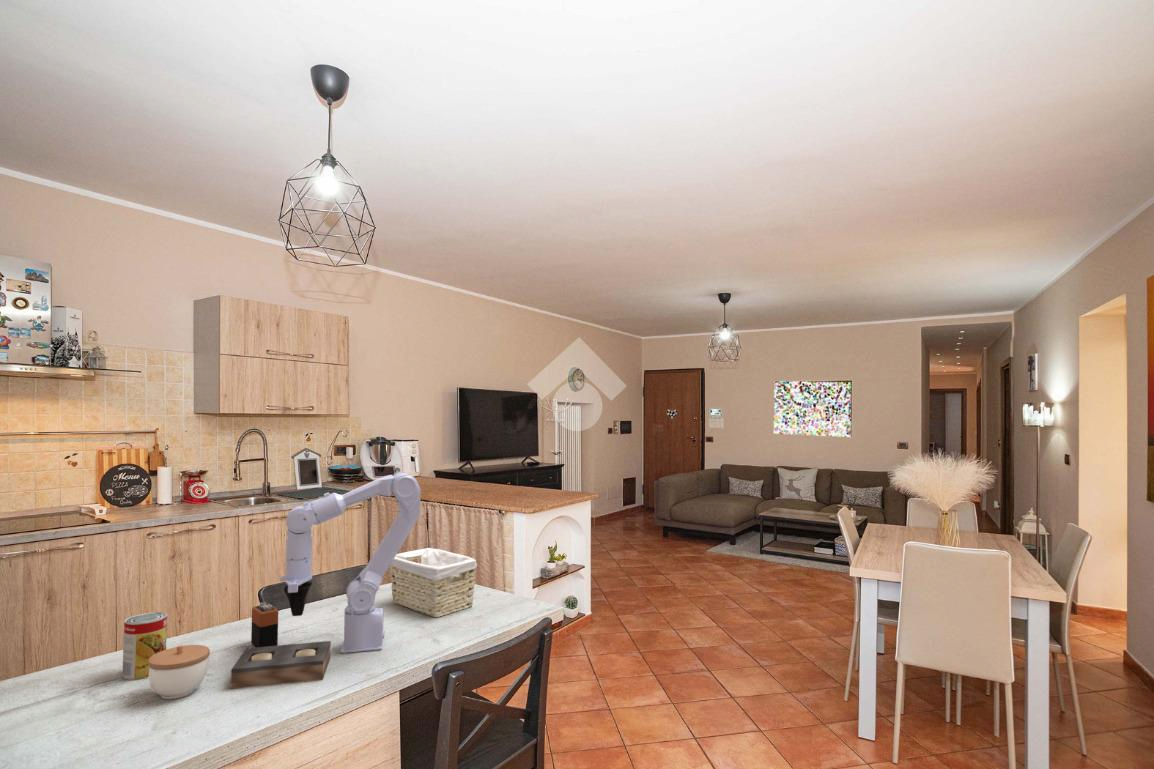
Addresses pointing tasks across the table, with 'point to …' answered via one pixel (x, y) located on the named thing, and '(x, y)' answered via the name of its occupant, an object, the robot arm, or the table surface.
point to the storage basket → (433, 581)
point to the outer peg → (261, 657)
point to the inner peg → (305, 652)
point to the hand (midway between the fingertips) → (297, 615)
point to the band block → (281, 665)
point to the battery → (264, 625)
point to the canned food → (142, 642)
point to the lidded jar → (178, 670)
